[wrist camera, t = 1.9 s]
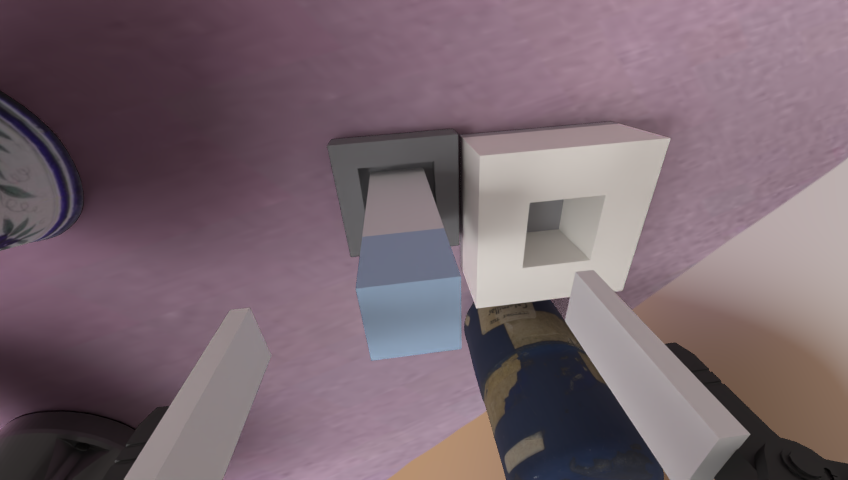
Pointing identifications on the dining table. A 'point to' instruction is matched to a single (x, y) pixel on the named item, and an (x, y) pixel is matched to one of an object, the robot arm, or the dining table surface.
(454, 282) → the plug
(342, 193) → the gray recessed square plate
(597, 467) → the canister
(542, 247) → the block
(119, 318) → the dining table surface
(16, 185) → the vase
